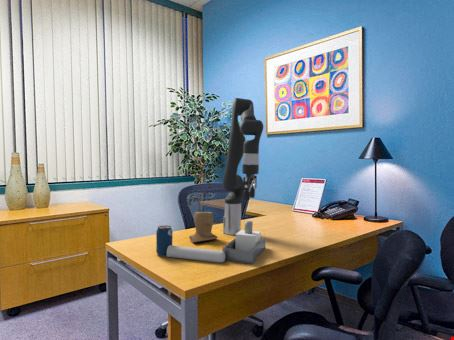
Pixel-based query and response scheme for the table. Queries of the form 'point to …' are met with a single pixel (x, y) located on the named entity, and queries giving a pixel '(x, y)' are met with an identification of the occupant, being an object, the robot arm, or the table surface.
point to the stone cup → (203, 227)
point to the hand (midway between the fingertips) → (249, 198)
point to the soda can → (163, 239)
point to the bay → (243, 252)
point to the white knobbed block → (247, 237)
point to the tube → (195, 254)
